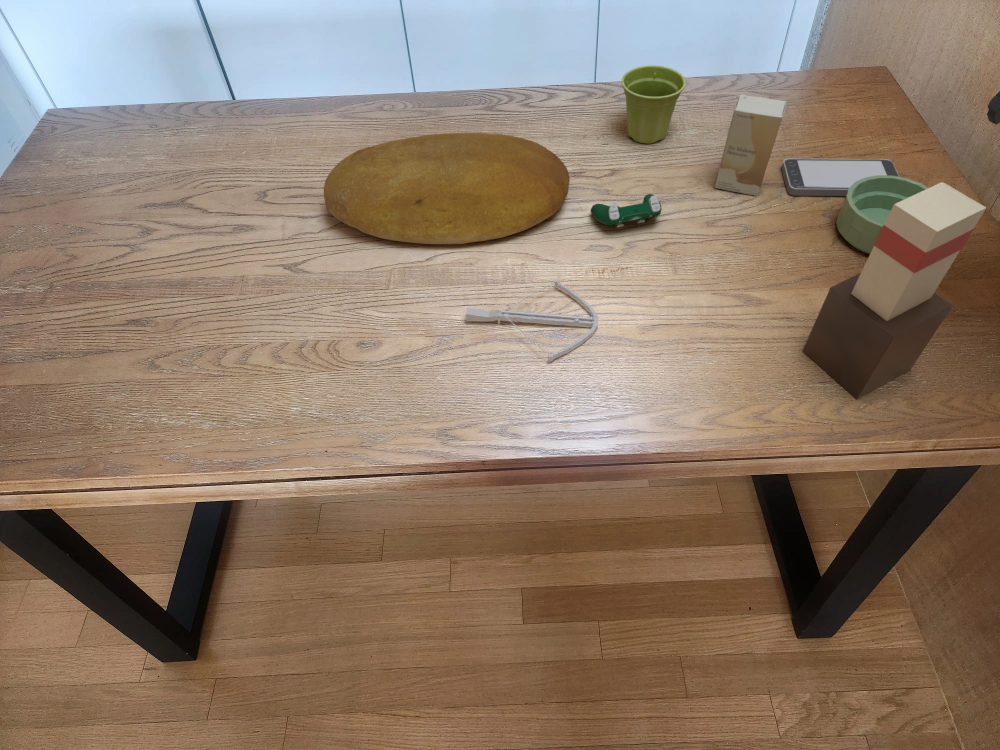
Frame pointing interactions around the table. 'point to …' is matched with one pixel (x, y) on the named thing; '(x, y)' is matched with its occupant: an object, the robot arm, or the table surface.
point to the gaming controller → (627, 211)
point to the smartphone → (830, 174)
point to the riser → (869, 339)
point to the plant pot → (651, 101)
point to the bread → (447, 188)
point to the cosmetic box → (749, 143)
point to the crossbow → (543, 319)
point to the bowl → (872, 207)
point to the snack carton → (916, 249)
